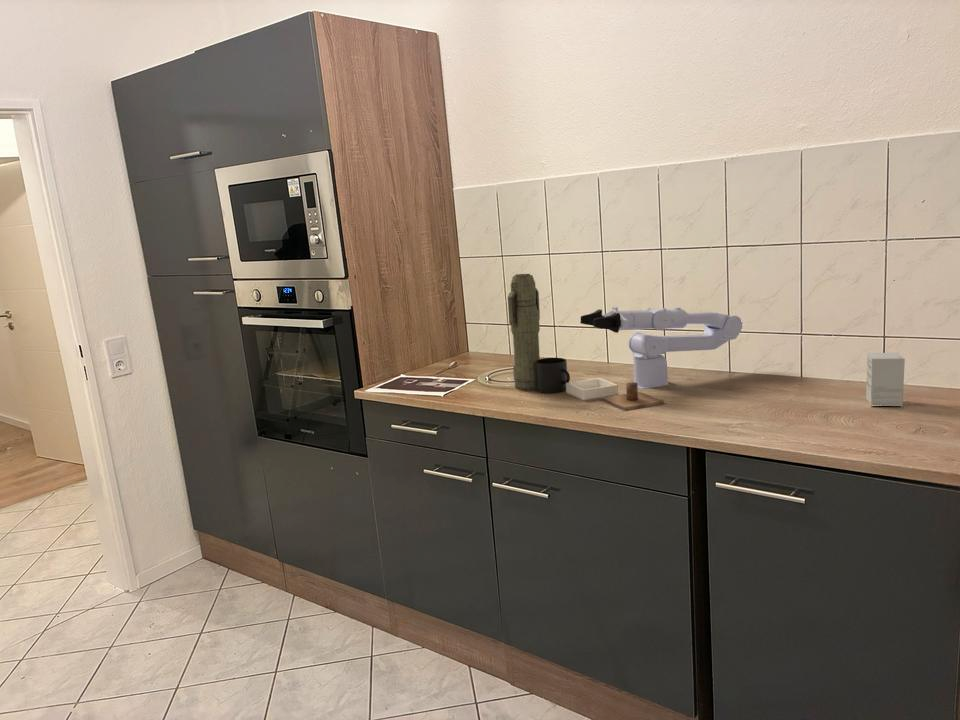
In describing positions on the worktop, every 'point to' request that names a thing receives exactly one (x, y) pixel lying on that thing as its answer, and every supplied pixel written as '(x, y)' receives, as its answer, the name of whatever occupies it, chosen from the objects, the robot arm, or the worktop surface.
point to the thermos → (524, 329)
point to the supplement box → (885, 379)
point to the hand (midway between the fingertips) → (587, 321)
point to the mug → (551, 375)
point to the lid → (632, 398)
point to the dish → (591, 389)
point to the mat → (630, 409)
